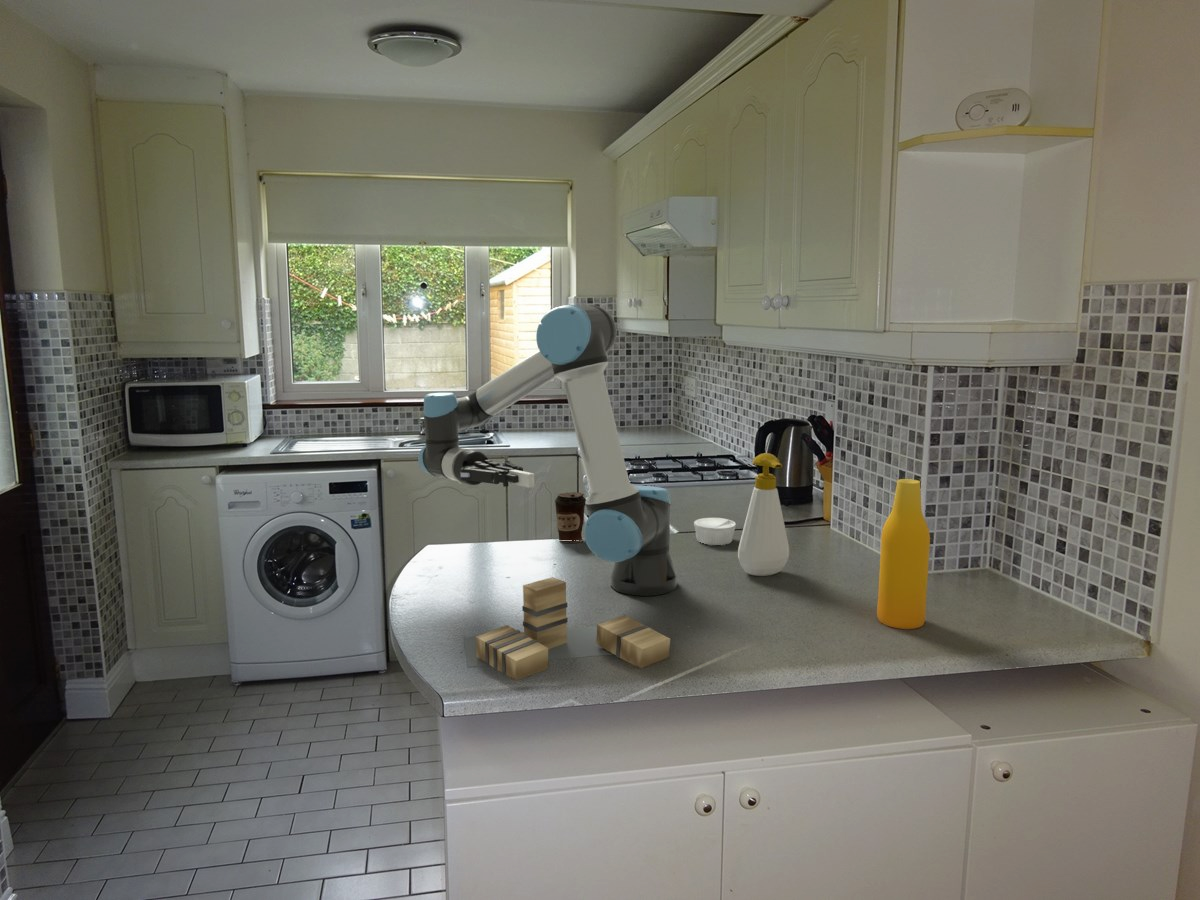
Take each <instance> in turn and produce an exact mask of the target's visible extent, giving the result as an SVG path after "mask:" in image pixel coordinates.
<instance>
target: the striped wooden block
mask: <svg viewBox="0 0 1200 900" xmlns="http://www.w3.org/2000/svg"><path fill="white" fill-rule="evenodd" d="M521 632H522V631H521V630H519V629H515V628H514V627H512V626H509V624H506V625H504V626H501V627H498V628H495V629H493V630H490V631H487V632H485V633H482V634H479V635H475V636H476V657H478V658H479V659H481V660H482V661H484V662H486V665H488V666H489V665H490V666H491V668H493V670H495V671H498V672H500V673H501V674H503V675H505V676H507V677H510V678H511V679H513V680H515V681H518V680H520V679H521V680H522V679H524V678H526V677H529V676H531V675H534V674H537V673H540V672H542V671H545V670H548V669H549V660H548V648H547V647H545V646H544V645H542V644H540V643H538V641H537V640H535V639H534V640H533V639H531V638H529V636H528V635H527V634H526V635H524V634H522V633H521ZM488 666H487V667H488ZM490 666H489V667H490Z"/></svg>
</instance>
